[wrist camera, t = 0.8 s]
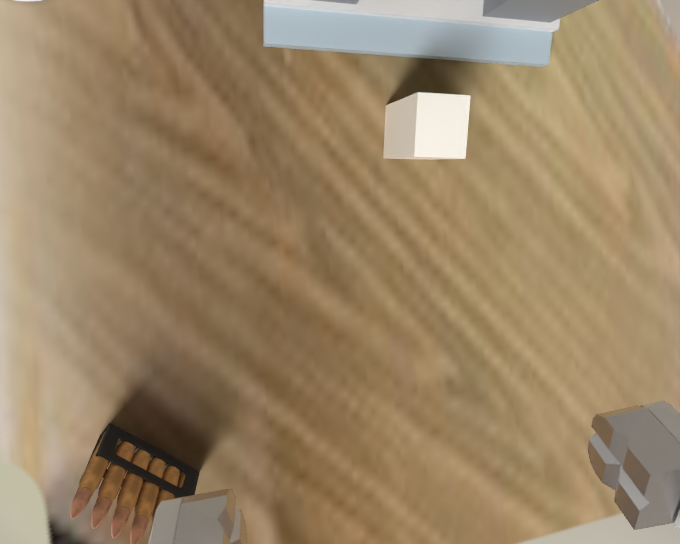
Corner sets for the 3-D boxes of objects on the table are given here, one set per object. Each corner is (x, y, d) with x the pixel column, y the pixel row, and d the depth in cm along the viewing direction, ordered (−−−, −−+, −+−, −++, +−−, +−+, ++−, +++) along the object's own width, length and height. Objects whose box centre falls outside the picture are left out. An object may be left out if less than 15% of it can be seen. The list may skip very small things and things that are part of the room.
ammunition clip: (199, 471, 51) (187, 560, 40) (189, 485, 52) (173, 577, 40) (109, 422, 48) (68, 503, 37) (99, 437, 49) (54, 521, 37)
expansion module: (386, 102, 47) (418, 89, 38) (429, 105, 48) (470, 92, 39) (383, 158, 48) (414, 156, 39) (426, 159, 49) (465, 158, 40)
